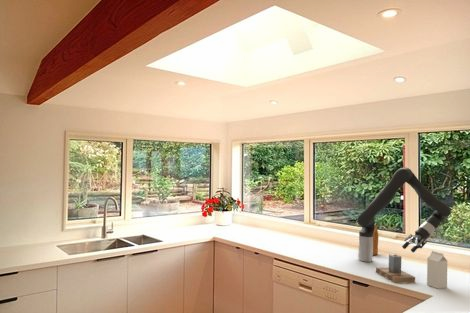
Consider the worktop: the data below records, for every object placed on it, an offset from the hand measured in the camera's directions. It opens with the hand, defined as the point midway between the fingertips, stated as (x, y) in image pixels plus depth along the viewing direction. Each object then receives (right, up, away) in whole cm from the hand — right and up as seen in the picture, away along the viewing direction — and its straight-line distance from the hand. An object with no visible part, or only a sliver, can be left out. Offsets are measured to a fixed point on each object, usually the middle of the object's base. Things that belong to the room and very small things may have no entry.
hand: (407, 249), depth 216 cm
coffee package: (-2, -18, +56) cm, 59 cm away
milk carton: (+9, -17, -16) cm, 25 cm away
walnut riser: (-8, -16, -1) cm, 18 cm away
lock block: (-8, -13, -1) cm, 16 cm away
